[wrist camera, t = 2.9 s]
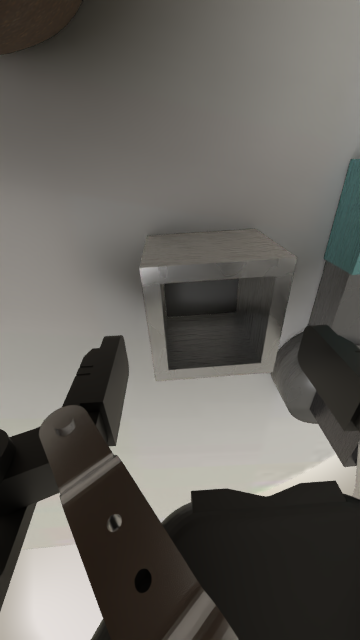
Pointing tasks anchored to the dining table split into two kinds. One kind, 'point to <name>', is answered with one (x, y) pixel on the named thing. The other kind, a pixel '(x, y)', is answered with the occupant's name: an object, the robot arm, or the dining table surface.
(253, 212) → the dining table surface
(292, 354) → the ratchet
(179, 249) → the square metal tube
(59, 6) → the plant pot
